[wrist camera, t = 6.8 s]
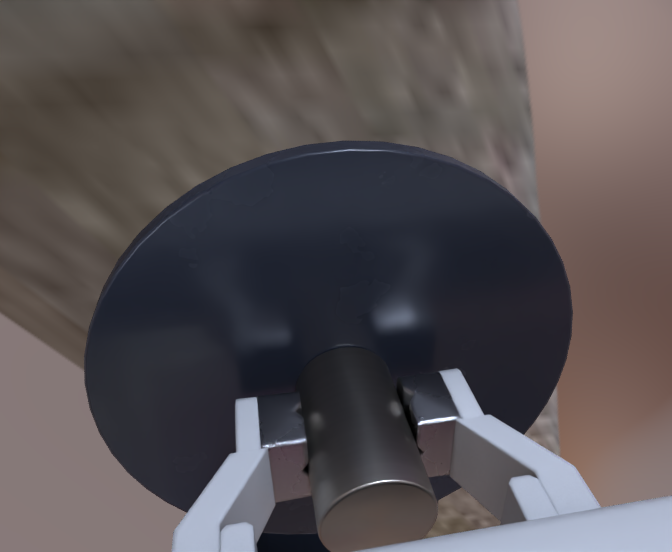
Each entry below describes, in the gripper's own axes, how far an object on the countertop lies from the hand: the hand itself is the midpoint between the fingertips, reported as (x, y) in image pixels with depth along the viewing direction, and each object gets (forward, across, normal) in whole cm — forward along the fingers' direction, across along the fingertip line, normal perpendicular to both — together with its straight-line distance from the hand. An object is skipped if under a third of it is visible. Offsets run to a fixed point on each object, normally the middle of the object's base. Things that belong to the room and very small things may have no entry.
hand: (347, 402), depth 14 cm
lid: (+1, 0, 0) cm, 1 cm away
